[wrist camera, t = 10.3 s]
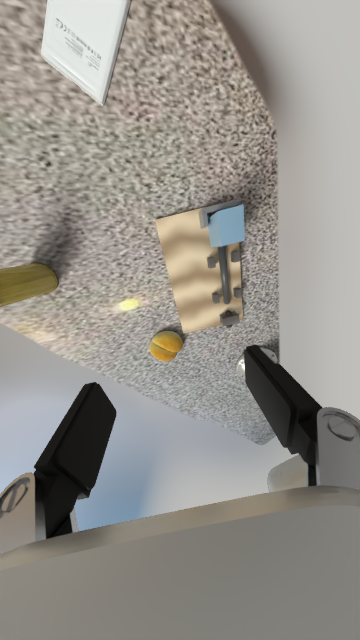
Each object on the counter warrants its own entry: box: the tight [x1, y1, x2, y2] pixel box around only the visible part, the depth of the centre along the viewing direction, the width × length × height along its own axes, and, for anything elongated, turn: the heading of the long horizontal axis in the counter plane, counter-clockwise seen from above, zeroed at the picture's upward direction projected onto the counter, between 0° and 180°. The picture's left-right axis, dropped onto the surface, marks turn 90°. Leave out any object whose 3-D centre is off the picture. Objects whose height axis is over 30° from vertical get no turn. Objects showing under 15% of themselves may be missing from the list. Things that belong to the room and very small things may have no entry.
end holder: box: [198, 198, 242, 229], centre depth 28 cm, size 3×7×3 cm, turn 103°
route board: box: [155, 199, 243, 333], centre depth 34 cm, size 27×16×3 cm, turn 13°
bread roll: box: [149, 331, 183, 361], centre depth 40 cm, size 8×9×4 cm
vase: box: [0, 263, 58, 307], centre depth 26 cm, size 6×6×14 cm
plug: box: [208, 204, 245, 305], centre depth 30 cm, size 18×4×7 cm, turn 13°
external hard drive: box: [41, 0, 131, 107], centre depth 20 cm, size 2×8×12 cm
